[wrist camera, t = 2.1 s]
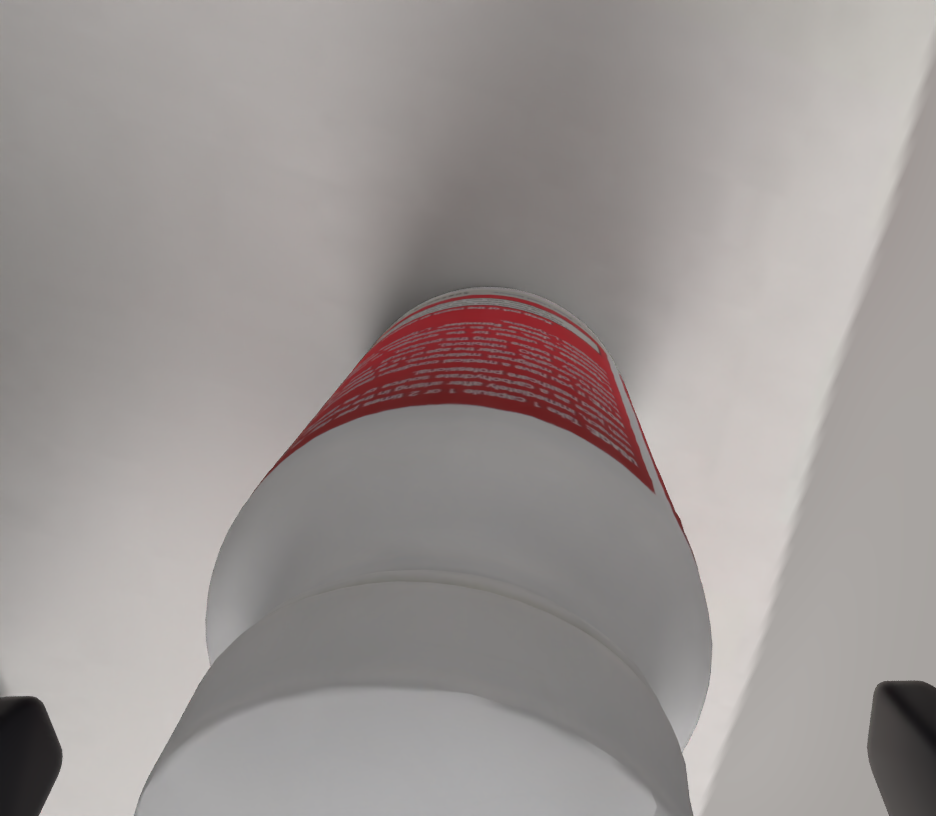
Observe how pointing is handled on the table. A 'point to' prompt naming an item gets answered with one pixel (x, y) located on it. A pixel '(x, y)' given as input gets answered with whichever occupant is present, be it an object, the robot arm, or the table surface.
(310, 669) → the pill bottle
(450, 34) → the table surface
